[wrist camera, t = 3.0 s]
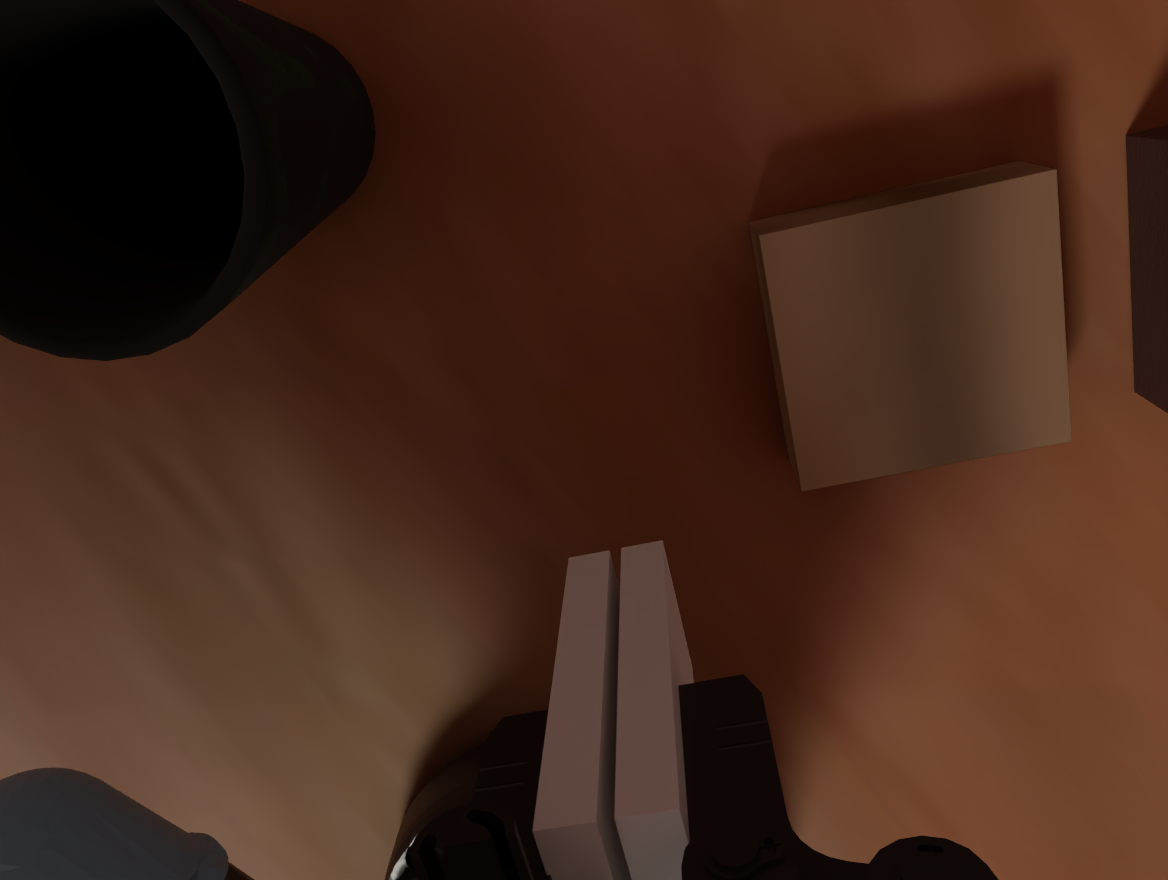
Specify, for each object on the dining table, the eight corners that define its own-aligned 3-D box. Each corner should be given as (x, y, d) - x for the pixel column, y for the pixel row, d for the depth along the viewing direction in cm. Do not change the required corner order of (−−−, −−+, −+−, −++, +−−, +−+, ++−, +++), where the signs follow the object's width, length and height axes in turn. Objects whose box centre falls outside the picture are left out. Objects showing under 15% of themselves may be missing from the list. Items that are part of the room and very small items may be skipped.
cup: (139, 205, 29) (-165, 287, 18) (178, -56, 27) (-152, -149, 15) (376, 285, 30) (223, 412, 19) (439, 37, 27) (304, 12, 16)
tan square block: (786, 455, 32) (801, 491, 29) (747, 220, 29) (758, 235, 26) (1031, 407, 31) (1071, 441, 28) (1014, 159, 28) (1056, 169, 25)
